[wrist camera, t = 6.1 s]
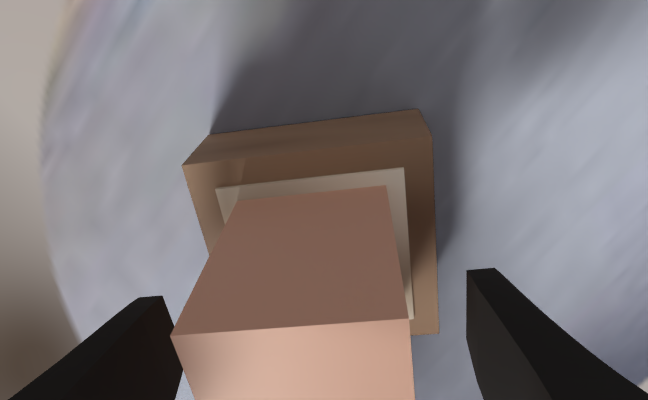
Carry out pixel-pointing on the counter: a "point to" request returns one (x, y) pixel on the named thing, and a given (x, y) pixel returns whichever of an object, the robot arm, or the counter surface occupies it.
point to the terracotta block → (300, 303)
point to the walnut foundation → (332, 183)
